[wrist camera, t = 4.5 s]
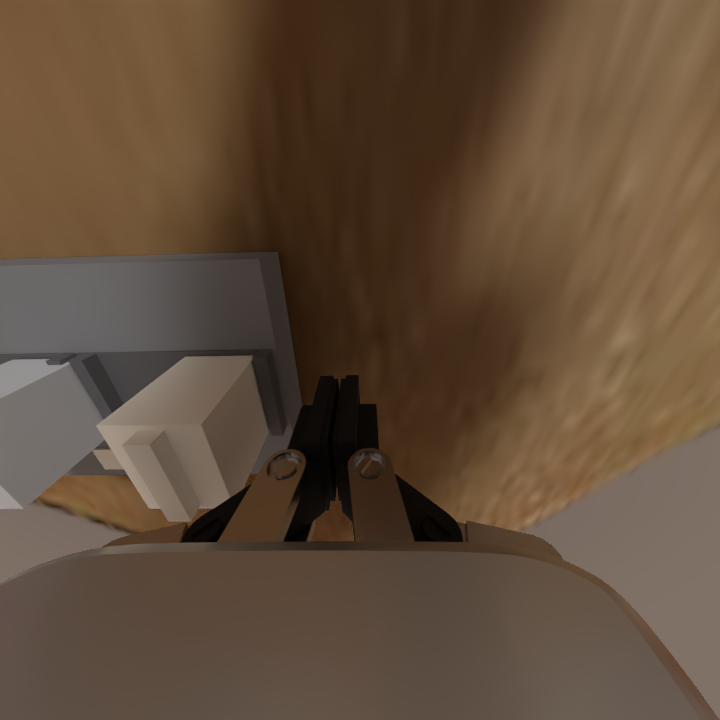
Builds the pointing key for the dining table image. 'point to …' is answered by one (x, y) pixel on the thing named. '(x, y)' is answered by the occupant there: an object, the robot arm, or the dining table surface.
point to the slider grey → (41, 427)
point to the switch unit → (152, 327)
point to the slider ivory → (191, 434)
